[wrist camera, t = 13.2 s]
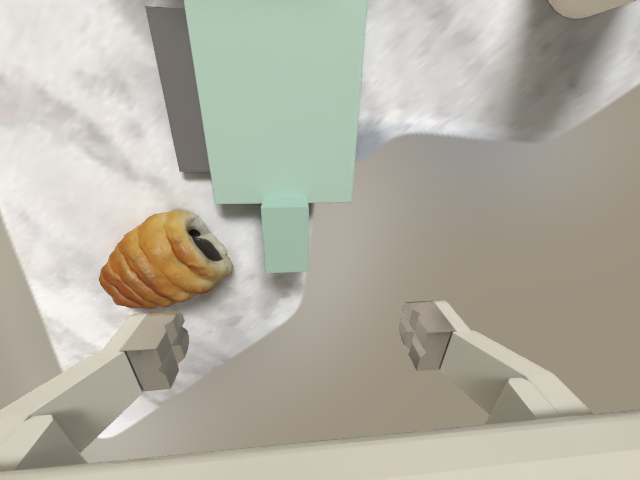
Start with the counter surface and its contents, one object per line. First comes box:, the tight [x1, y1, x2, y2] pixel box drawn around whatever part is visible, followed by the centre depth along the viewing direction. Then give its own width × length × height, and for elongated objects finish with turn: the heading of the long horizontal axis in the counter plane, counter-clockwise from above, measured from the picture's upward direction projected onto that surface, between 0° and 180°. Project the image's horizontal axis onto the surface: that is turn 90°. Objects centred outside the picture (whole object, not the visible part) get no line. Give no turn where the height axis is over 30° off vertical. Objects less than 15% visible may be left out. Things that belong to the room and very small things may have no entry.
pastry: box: [99, 211, 233, 309], centre depth 19 cm, size 9×7×4 cm
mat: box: [145, 6, 210, 172], centre depth 16 cm, size 10×9×1 cm
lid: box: [184, 0, 368, 273], centre depth 16 cm, size 10×17×3 cm, turn 179°
